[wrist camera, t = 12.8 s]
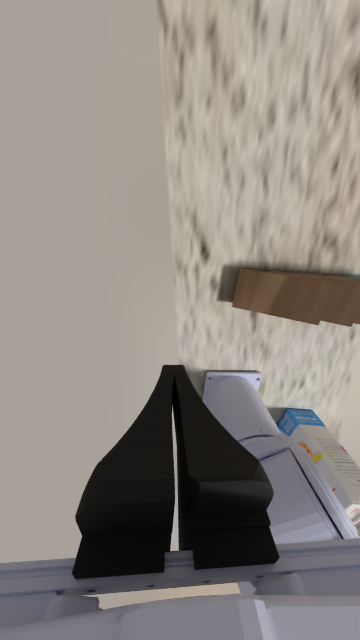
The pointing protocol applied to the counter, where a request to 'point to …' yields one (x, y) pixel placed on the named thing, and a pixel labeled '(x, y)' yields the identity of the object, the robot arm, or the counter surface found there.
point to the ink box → (325, 457)
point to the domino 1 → (283, 294)
